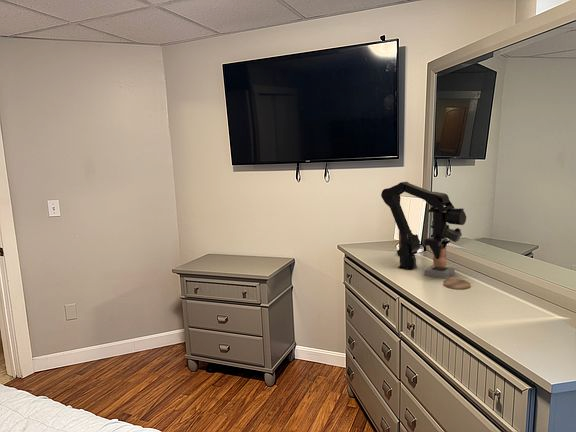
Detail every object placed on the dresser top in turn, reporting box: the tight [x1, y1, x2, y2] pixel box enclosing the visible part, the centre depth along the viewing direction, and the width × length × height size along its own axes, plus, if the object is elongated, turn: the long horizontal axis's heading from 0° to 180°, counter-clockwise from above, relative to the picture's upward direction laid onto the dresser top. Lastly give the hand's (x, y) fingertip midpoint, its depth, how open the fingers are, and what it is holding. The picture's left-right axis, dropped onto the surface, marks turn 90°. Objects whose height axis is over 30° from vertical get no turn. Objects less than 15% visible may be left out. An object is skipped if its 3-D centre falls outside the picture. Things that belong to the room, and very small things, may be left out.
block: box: [432, 247, 447, 268], centre depth 168 cm, size 4×4×8 cm
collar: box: [423, 264, 456, 280], centre depth 169 cm, size 10×10×2 cm
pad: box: [442, 278, 471, 291], centre depth 155 cm, size 10×10×1 cm
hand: (439, 257), depth 168 cm, fingers closed on block, 4 cm apart
